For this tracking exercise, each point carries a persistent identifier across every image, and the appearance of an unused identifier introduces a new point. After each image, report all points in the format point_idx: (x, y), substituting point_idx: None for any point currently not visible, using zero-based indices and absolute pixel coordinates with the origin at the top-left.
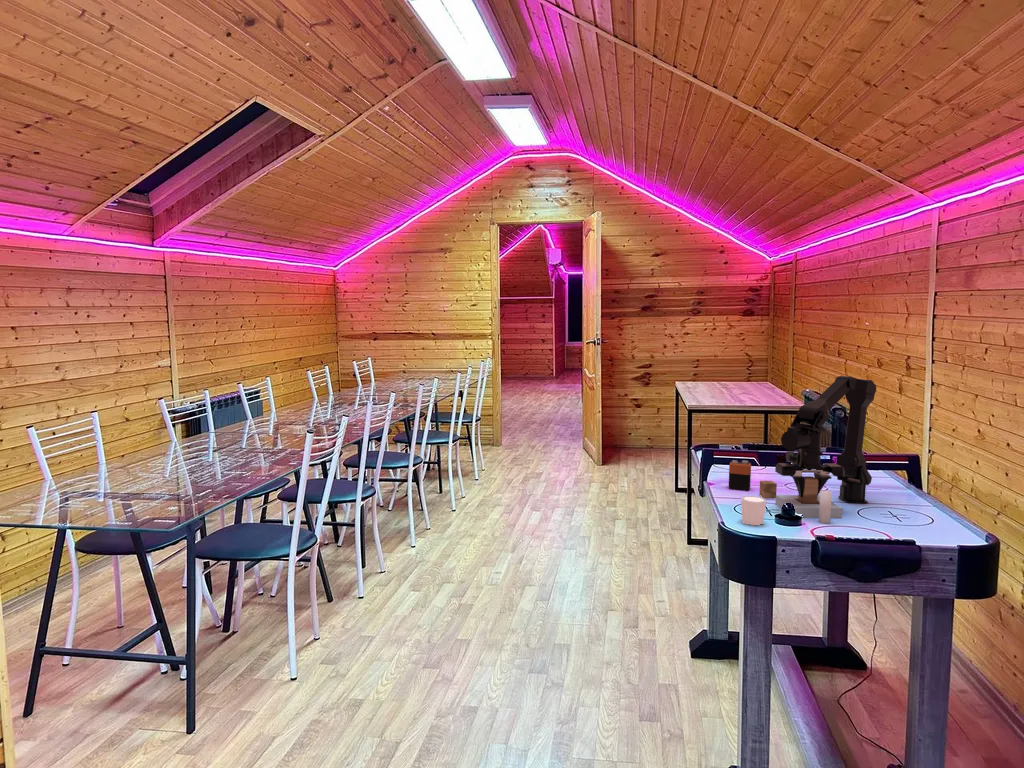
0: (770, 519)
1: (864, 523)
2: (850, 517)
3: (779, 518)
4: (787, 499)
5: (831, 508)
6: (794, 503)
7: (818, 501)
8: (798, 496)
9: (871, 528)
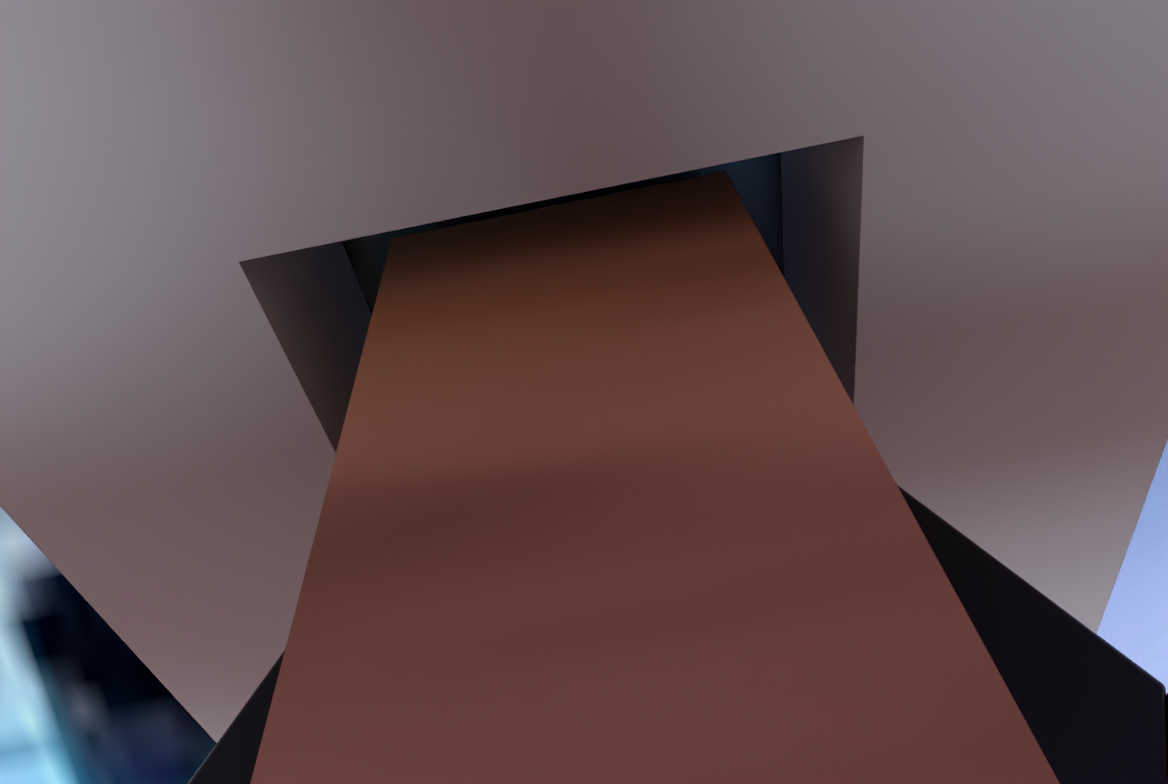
0: (8, 756)
1: (1143, 643)
2: (1158, 478)
3: (113, 709)
4: (63, 393)
5: None
6: (266, 634)
7: (874, 386)
8: (358, 374)
9: None
